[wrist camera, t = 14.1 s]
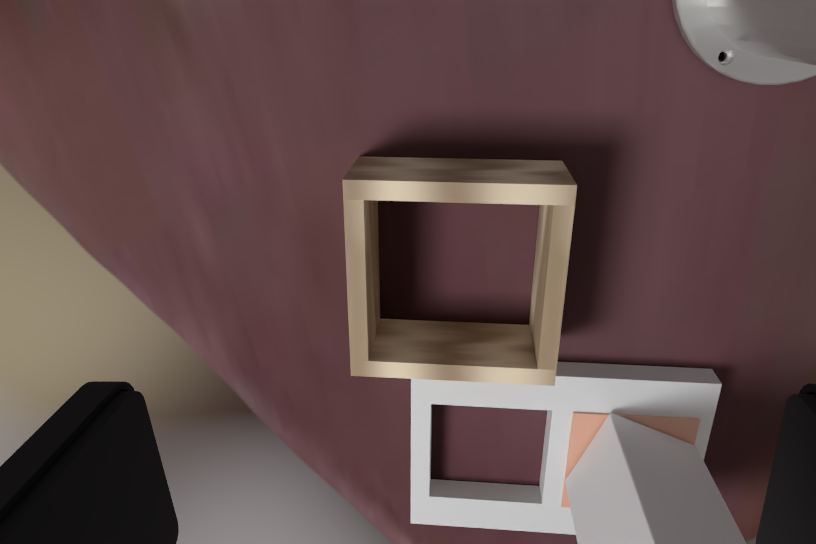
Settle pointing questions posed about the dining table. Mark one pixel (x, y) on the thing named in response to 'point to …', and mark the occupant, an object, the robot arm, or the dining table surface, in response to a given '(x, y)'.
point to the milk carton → (646, 490)
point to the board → (553, 436)
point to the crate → (457, 341)
